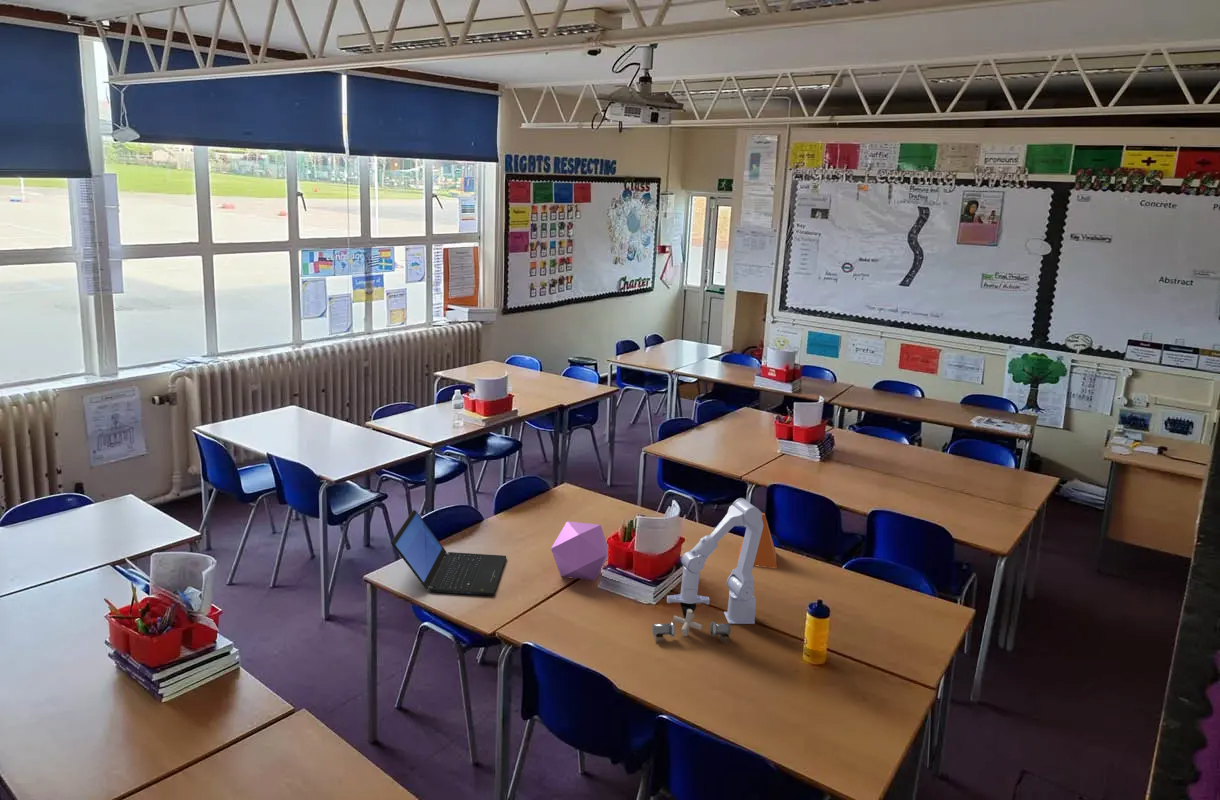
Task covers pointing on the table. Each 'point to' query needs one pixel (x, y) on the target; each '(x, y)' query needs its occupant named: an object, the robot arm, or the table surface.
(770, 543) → the pyramid
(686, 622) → the pipe connector
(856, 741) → the table surface
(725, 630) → the shaft
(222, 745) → the table surface
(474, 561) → the laptop
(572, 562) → the icosahedron
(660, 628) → the grey metal fitting
